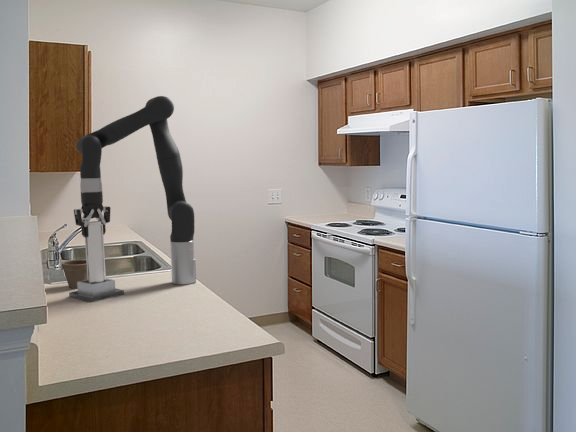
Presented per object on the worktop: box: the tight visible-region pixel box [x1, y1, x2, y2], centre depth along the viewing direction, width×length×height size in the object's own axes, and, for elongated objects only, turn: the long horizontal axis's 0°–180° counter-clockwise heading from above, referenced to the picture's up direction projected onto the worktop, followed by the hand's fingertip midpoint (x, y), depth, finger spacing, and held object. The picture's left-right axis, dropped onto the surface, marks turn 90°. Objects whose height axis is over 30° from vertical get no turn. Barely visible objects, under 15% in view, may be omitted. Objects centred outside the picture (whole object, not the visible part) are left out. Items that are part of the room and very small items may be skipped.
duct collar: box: [68, 277, 125, 303], centre depth 201 cm, size 14×14×6 cm
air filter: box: [84, 220, 107, 284], centre depth 200 cm, size 6×6×25 cm
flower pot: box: [61, 259, 87, 289], centre depth 216 cm, size 12×11×10 cm
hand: (94, 235), depth 199 cm, fingers closed on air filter, 6 cm apart
